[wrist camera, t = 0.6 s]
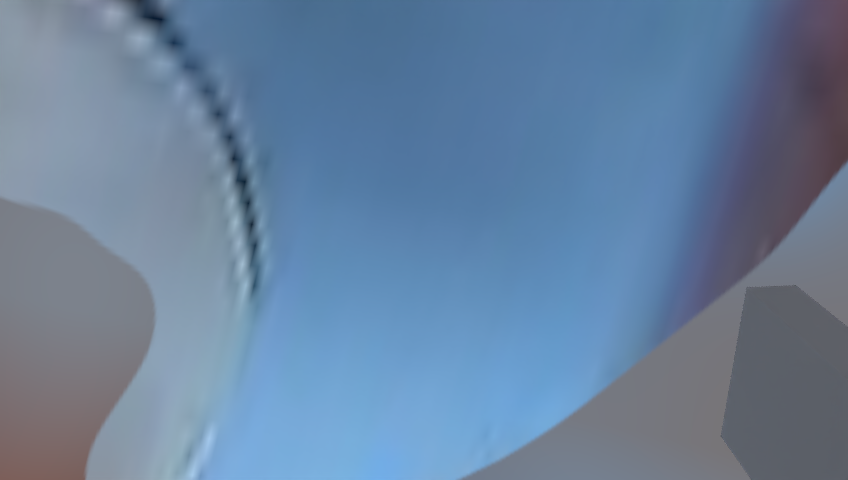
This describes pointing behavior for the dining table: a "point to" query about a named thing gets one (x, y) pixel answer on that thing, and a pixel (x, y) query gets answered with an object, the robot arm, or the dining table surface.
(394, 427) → the dining table surface
